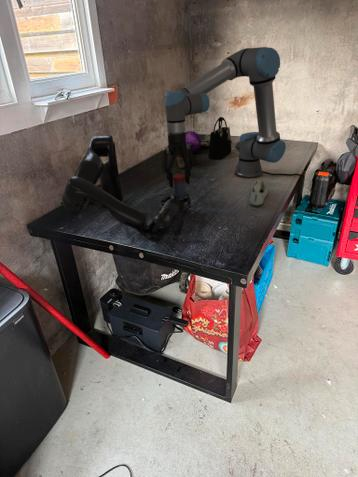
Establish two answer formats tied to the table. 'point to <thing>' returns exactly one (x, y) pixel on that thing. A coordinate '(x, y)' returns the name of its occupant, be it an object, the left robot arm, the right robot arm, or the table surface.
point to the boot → (181, 159)
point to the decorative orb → (193, 140)
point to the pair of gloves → (206, 141)
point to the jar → (179, 191)
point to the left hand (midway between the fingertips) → (181, 195)
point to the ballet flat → (258, 193)
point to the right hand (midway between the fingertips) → (179, 184)
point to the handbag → (220, 141)
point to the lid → (179, 178)
